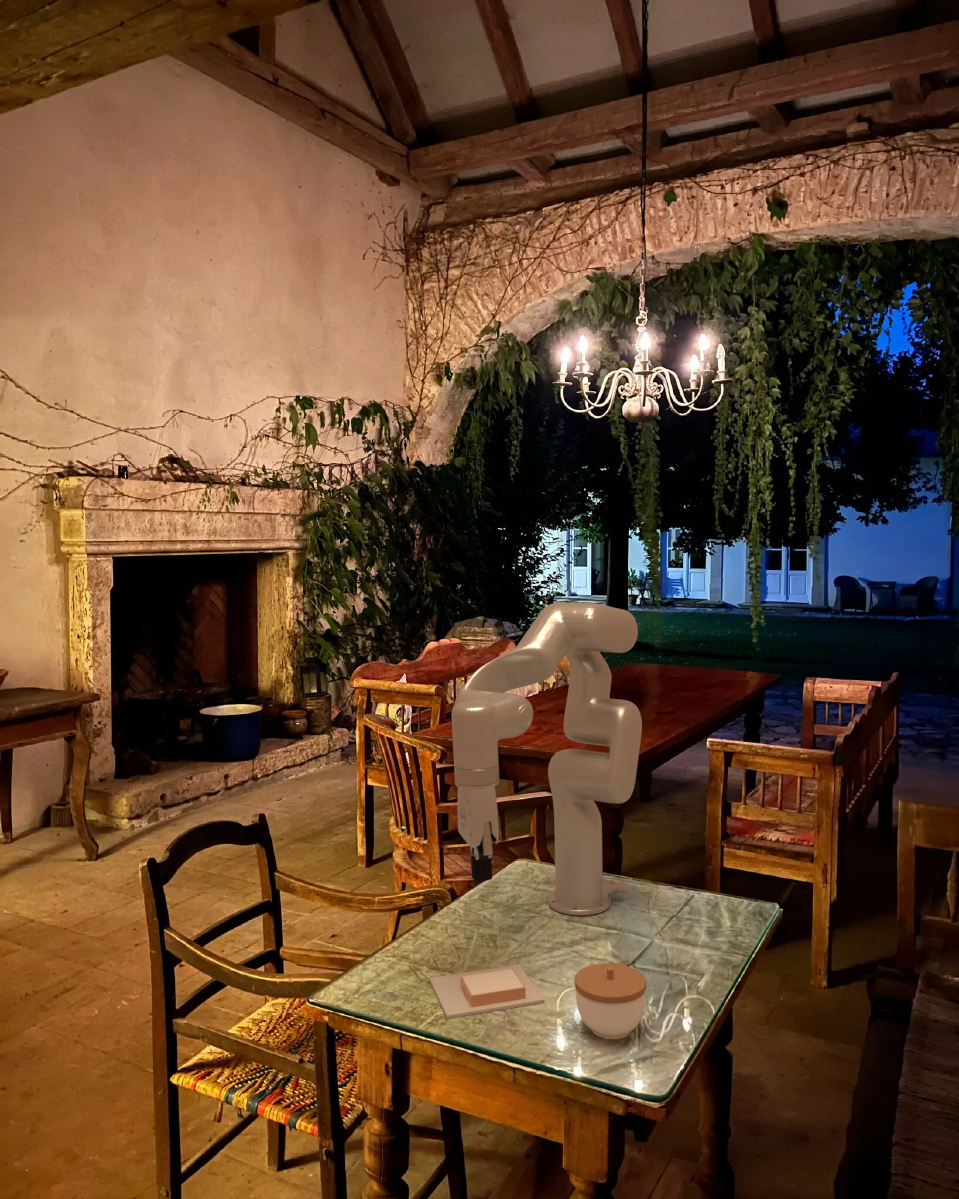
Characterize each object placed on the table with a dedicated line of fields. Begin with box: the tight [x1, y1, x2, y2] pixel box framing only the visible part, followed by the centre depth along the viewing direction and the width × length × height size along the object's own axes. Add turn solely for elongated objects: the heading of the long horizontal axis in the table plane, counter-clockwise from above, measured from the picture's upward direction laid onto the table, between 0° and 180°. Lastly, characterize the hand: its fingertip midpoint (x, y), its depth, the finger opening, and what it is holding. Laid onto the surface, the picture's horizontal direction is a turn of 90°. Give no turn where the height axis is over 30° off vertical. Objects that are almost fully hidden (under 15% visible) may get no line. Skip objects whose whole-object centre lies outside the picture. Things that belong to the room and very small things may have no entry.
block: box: [461, 968, 526, 1007], centre depth 150 cm, size 9×2×7 cm
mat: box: [429, 964, 545, 1019], centre depth 151 cm, size 16×13×1 cm
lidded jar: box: [574, 962, 647, 1040], centre depth 139 cm, size 11×11×9 cm
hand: (482, 879), depth 157 cm, fingers closed
